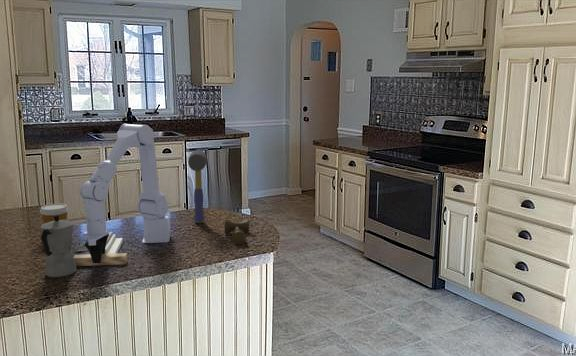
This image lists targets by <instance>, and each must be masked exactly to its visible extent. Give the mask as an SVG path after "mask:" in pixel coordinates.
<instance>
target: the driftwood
mask: <svg viewBox="0 0 576 356" xmlns="http://www.w3.org/2000/svg"><path fill="white" fill-rule="evenodd" d="M86 238H87V237H86ZM86 238H85V239H83V240H82V241H86V240H88V238H87V239H86ZM82 241H81V244H80V245H78V244H77V245H78V247H77V248H78V249H79V250H78V249H77V251H76V250H75V252H76V253H77V252H89V251H88V249H87V248H86V246H85V244H84V242H82Z"/></svg>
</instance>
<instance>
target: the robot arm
mask: <svg viewBox="0 0 576 356" xmlns="http://www.w3.org/2000/svg"><path fill="white" fill-rule="evenodd" d="M116 137H117V139H116V140H115V142H114V145H113V147H112V148H111V150H110V152H109V154H108V156H107V157H106V160H102V161H100V162H99V163H98V164H97V167H96V169H95V170H94V171H93V173H92V175H91V177H90V178H89V180H87V181H85V182H84V183H83V184H82V185H81V186H80V190H79V191H78V192H79V195H80V196H81V198H82V200H83V204H84V209H85V220H86V221H85V223H86V231H83V234H82V235H83V236H85V237H86V238H87V237H88V241H86V242H85V246H86V248H87V249H88V251H87V252H89V254H90V255H91V258H92V261H93V263H100V262H101V256H102V254H105V248H106V242H107V239H108V237H109V234H108V233H109V232H108V230H107V219H106V217H107V215H106V204H105V201H106V200H105V199H106V198H107V196H108V195H109V191H110V190H109V188H110V183H111V182H112V180H113V179H114V176H115V175H116V173H117V171H118V169H117V165H118V164H119V162H120V161H121V160H122V158H123V157H124V155H125V154H126V152H127V151H128V150H129V149H130V148H133V147H135V148H137V150H138V153H139V162H140V163H139V164H140V173H141V182H142V192H141V193H140V194H139V195H138V203H137V210H138V212H139V214H141V217H142V218H143V219H142V220H143V221H142V222H143V239H142V240H141V243H142V244H155V243H157V244H158V243H159V244H160V243H169V242H170V239H171V235H172V234H171V233H172V232H171V221H170V220H171V219H170V216H169V215H167V213H168V211H169V204H168V202H167V197H166V195H165V194H164V193H163V192H162V191H160V189H159V180H158V179H159V178H158V168H157V167H158V166H157V156H156V154H157V153H156V146H155V139H154V129H153V128H151V127H150V126H149V125H147V124H131V123H123V124H122V125H120V127H119V129H118V131H117V132H116Z"/></svg>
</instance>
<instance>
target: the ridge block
mask: <svg viewBox="0 0 576 356" xmlns="http://www.w3.org/2000/svg"><path fill="white" fill-rule="evenodd" d="M107 233H108V234H109V237H108V239H107V242H106V248H105V254H112V253H118V252H119V251H120V250H121V247H122V245H123V242H124V238H123V237H116V233H114V231H109V232H107ZM113 233H114V234H113Z"/></svg>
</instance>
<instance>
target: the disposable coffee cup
mask: <svg viewBox="0 0 576 356" xmlns="http://www.w3.org/2000/svg"><path fill="white" fill-rule="evenodd" d="M68 211H69V208H68V205H67V204H65V203H51V204H44V205H42V206H41V207H40V210H39V213H40V215H41V218H42V222H43V223H42V224H45V223H48V222H51V221H55V220H54V217H53V216H54V215H59V220H68Z"/></svg>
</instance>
